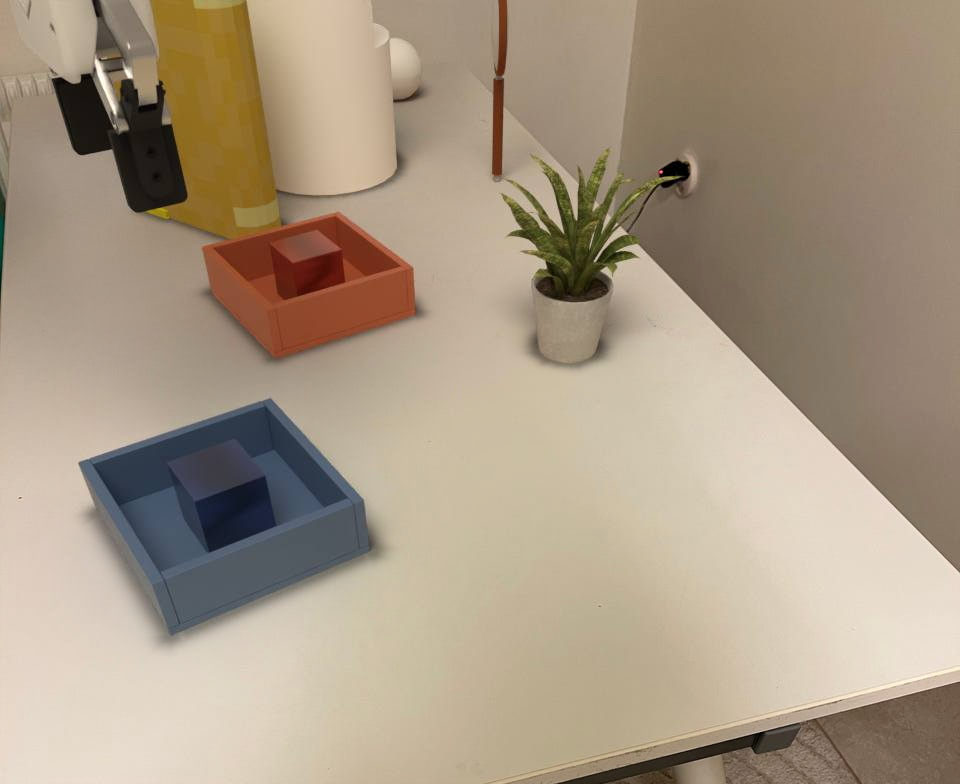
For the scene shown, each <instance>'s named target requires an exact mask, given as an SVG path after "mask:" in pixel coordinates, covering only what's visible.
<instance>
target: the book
mask: <svg viewBox="0 0 960 784" xmlns="http://www.w3.org/2000/svg"><path fill="white" fill-rule="evenodd" d="M150 5H151V9H152V14H153V19H154V24H155V29H156V35H157V41H158V48H159V58H158V61H157V65H158V78H159V80H161V81H162V82H163V84H164V85H162V87H163V90H165V91H166V94H165V95H164V98H165V100H166V103H167V105H168V108H169V111H170V114H171V121H172V122H171V123H172V127H173V132H174V136H175V140H176V145H177V149H178V154H179V158H180V162H181V167H182V171H183V176H184V180H185V185H186V189H187V193H188V197H187V199H186V201H185V202H183V203H179V204H175V205H170V206H166V207H162V208H158V209H153V210H149V211H145V212H144V213H148V214H151V215H153V216H156V217H159V218H162V219H165V220H169V219H172V220H174V221H179V222H181V223H183V224H186V225H188V226H192V227H195V228H197V229H199V230H203V231H205V232H209V233H212V234H215V235H217V236H220V237H223V238H225V239H227V240H230V239H234V238H238V237H242V236H245V235H249V234H253V233H257V232H261V231H265V230H269V229H273V228H277V227H280V226H282V221H281V214H280V208H279V201H278V200H279V199H278V194H277V193H278V192H277V189H276V187H275V180H274V174H273V168H272V161H271V155H270V148H269V142H268V135H267V129H266V122H265V116H264V110H263V103H262V97H261V90H260V84H259V77H258V71H257V64H256V58H255V52H254V45H253V39H252V32H251V26H250V19H249V13H248V6H247V0H150ZM115 57H121V55H117V56H111V57H106V59H109V58H115ZM113 87H114V89H115V92H116V94H117V96H118V99H119V101H120V88H121V81H118V82H113Z"/></svg>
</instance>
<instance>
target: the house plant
mask: <svg viewBox="0 0 960 784" xmlns="http://www.w3.org/2000/svg"><path fill="white" fill-rule="evenodd" d="M528 154H529V156H530V157H531V158H532V159H533V160H534V161H535V162H536V163H537V164H538V165H539V166H540V167H541V169H542V170H541V173H543V175H544V176H546V177H547V179H548V181H549V182H550V184H551V188H552V190H553V193H554V197H555V201H556V206H557V210H558V214H559V216H560V221H561V226H562V230H561V228H560V227H559V226H558V225H557V224H556V223H555V221H554V220H553V219H551V218H550V217H549V215H548V213H547V212H546V211H545V209H544V207H543V206H542V204H541V203H540V202H539V201H538V200H537V199H536V197H535V196H534V195H533V194H532V193H531V192H530V191H529V190H527V188H525V187H523V186H522V185H521V184H519V183H518V182H516V181H514V180H513V179H509V178H505V177H502V179H503V180H504V181H506V182H508V183H510V184H512V185H513V186H514V187H515V188H516V189H517V190H519V191H520V192H521V193H522V194H523V195H524V196H525V197H526V199H527V200H528V201H529V202H530V203H531V205H532V206H533V208H534V209H535V210H536V212H534V211H529V212H528V211H526V210H525V209H524V208H523V207H522V206H521V205H520V204H519V203H518V202H517V201H516V200H515V199H514V198H512V197H510V196H508V195H506V194H505V193H503V192H502V193H501V192H499V194H500V195H501V197H502V200H503V201H504V203H506V205H507V206H508V207H509V208H510V210H511V211H510V212H511V214H512V217H513V218H514V220H515V222H516V223H517V225H518V226H519V227H520V228H521V229H516V230H513V231H510V233H508V234H507V235H506V236H505V238H508V237H516V238H520V239H524V240H525V239H526V240H527V241H530V242H531V244H533V245H534V246H535V248H536V249H537V250H534V249H525V250H523V249H522V250H520V253H523V254H525V255H530V256H535V257H537V258H538V259H541V260H543V261H544V262H545V266H546V268H538V269H537V271H536V272H535V274H534V275H533V277H532V278H531V290H532V291H531V292H532V301H533V310H534V319H535V328H536V336H537V346H538V350H539V353H541V355H542V356H544V357H545V358H547V359H549V360H551V361H554V362H556V363H557V362H558V363H562V364H563V363H565V364H574V363H575V364H576V363H581V362H583V361H585V360H588V359H591V358H592V357H593V356H594V355H595V354H596V352H597V347H598V346H599V345H598V344H599V341H600V338H601V335H602V331H603V327H604V324H605V320H606V317H607V312H608V309H609V306H610V303H611V298H612V296H613V292H614V287H615V285H614V282H613V277H614V273H615V272H616V270H617V269H618V264H617V263H620V262H624V261H628V260H633V259H640V257H639V256H638V255H636V254H635V253H633V252H632V251H628V250H621V249H623V248H626V247H630V246H634V245H639V244H641V245H644V242H642V241H641V240H640V239H639V238H638V237H636V236H634V235H632V234H624V235H623V234H622V235H620V236H618V237H617V238H615V239H613V240H612V241H611V242H610V243H609V244H608V245H607V246H606V247H605V248H604V246H605V244H606V243H607V242H608V241H609V239H610V238H611V236H612V235H613V234H614V233H615V232H616V231H617V230H618V229H619V228H620V227H621V226H622V225H623V224H624V223H625V222H627V220H628V219H630V217H631V216H632V215H633V214H635V213H636V212H637V211H638V210H640V209H641V208H643V207H644V206H646V205H647V204H648V202H646V203H644V204H643V205H641V206H639V207H637V208H636V209H634V210H632V211H631V212H630V213H629V214H628V215H627V216H626V217H625V218H624V219H622V220H621V221H620V219H621V218H622V217H623V215H624V214H625V213H626V212H627V210H629V208H630V207H631V206H632V205H633V204H634V203H635V202H636V201H637V200H638V199H639V198H641V197H642V196H643V195H644V194H646V193H647V192H649V191H650V190H652V189H653V188H655V187H656V186H657V185H660V184H662V183H664V182H669V181H672V180H676V179H679V178H682V177H686V176H684V175H670V176H662V177H658V178H653V179H651V180H649V181H647V182H645V183H643V184H642V185H640V186H639V187H638V188H636V189H635V190H634V191H633V192H632V193H630V194H629V195H628V196H627V197H626V198H625V199H624V201H623V202H622V203H621V204H620V206H619V207H618V209H617V210H616V212H615V213H614V214H613V216H611V218H610V219H609V220H608V222H607V223H606V225H604V224H605V221H606V219H607V215H608V213H609V209H610V207H611V205H612V203H613V200H614V198H615V195H616V193H617V192H618V189H619V186H620V185H622V184H623V183H627V182H634V181H636V179H634V178H626V179H622V178H623V177H624V175H625V172H622V173H620V174H618V175H617V176H616V177H615V178H614V179H613V181H612V182H611V184H610V186H609V188H608V190H607V192H606V195H605V197H604V200H603V201H602V203H601V204H599V205H598V206H597V207H595V203H596V199H597V195H598V192H599V189H600V186H601V183H602V180H603V177H604V175H605V173H606V170H607V165H608V164H607V162H608V158H609V155H610V154H611V147H608V148H606V149H605V150H604V151H603V152H602V153H601V155H600V156H599V158H598V159H597V160H596V162H595V164H594V166H593V169H592V171H591V173H590V176H589V178H588V181H587V183H585V177H584V174H583V171H582V169H581V167H580V166H579V165H578V164H575V165H577V173H578V186H577V187H578V188H577V215H576V216H575V212H574V209H573V204H572V201H571V198H570V195H569V191H568V189H567V186H566V184H565V182H564V181H563V179H562V177H561V174H559V173H558V172H557V171H556V170H555V169H554V168H553V167H551V166H550V165H548V164H547V163H546V162H545V161H543V160H542V159H540V158H539V157H537V156H536V155H535V156H534V155H533V154H531V153H528ZM594 207H595V208H594ZM531 214H536V215H537V216H538V219H539V220H540V222H541V223H542V224H543V225H544V226H545V228H546V229H547V230H545V229H544V228H541V226H540V223H539V222H538V220H537V219H536V218H535V217H534V216H532V215H531ZM619 221H620V222H619ZM618 222H619V223H618ZM617 223H618V224H617ZM616 224H617V225H616ZM604 226H605V227H604ZM644 247H645V248H646V250H648V249H647V247H646V245H644ZM603 248H604V249H603ZM600 252H601V253H600ZM605 268H607V269H608V270H609V271H610V273H611V277H610V276H609V275H608V274H606V273H604V272H603V271H602V270H604V269H605ZM611 278H612V279H611Z"/></svg>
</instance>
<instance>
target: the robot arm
mask: <svg viewBox="0 0 960 784" xmlns="http://www.w3.org/2000/svg"><path fill="white" fill-rule="evenodd" d="M8 5H9V9H10V12H11V15H12V19H13V22H14V25H15V29H16V31H17V33H18V36H19V38H20V40H21V41H22V42H23V44H24V45H25V46H26V47H27V48H28V49H29V50H30V51H31V52H32V53H33V54H34V55H35V56H36V57H37V58H38V59H39V60H41V61H42V62H43V63H44V64H45V65H46V66H47V67H48V69H49V71H50V73H51V75H52V76H53V78H50V80H51V83H52V86H53V87H52V88H53V89H54V93H55V97H56V101H57V103H58V106H59V109H60V112H61V116H62V119H63V123H64V126H65V129H66V132H67V135H68V139H69V142H70V145H71V148H72V150H73V151H74V152H75V153H76V154H77V155H79V156H86V155H91V154H96V153H102V152H106V151H111V150H112V154H113V158H114V162H115V165H116V168H117V171H118V176H119V178H120V182H121V186H122V190H123V193H124V197H125V200H126V204H127V207H129V208H130V210H131V211H132V212H134V213H137V214H141V213H146V212H145V211H149V210H153V209H158V208H162V207H166V206H170V205H175V204H179V203H183V202H185V201H186V199H187V197H188V193H187V189H186V185H185V180H184V176H183V171H182V167H181V162H180V158H179V154H178V149H177V145H176V140H175V136H174V132H173V127H172V123H171V122H172V121H171V114H170V111H169V108H168V105H167V103H166V100H165V98H164V95H165V94H166V91H165V90H163V87H162V85H164V84H163V82H162V81H161V80H159V78H158V65H157V61H158V58H159V48H158V41H157V35H156V29H155V24H154V19H153V14H152V9H151V5H150V0H8ZM117 55H121V57H115V58H109V59H107V57H111V56H117ZM57 76H58V77H57ZM118 81H121V88H120V101H119V99H118V96H117V94H116V90H115V86H114V82H118Z"/></svg>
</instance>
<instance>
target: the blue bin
mask: <svg viewBox="0 0 960 784" xmlns="http://www.w3.org/2000/svg"><path fill="white" fill-rule="evenodd" d="M232 439H236V440H237V441H238V443H239V444H240V445H241V446H242V447H243V449H244V450H245V451H246V452H247V454H248V455H249V456H250V457H251V458H252V460H253V461H254V462H255V463H256V464H257V466H258V467H259V468H260V469H261V471H262V472H263V473H264V474H265V476H266V480H267V485H268V490H269V494H270V499H271V504H272V509H273V513H274V518H275V523H276V527H273V528H271V529H268V530H266V531H263V532H261V533H258V534H256V535H253V536H251V537H248V538H245V539H243V540H240V541H238V542H235V543H233V544H230V545H228V546H225V547H223V548H220V549H218V550H215V551H212V552H210V553H207V552H206V550H205V549H204V547H203V546H202V544H201V543H200V541H199V540H198V539H197V537H196V536H195V534H194V533H193V531H192V530H191V528H190V527H189V525H188V524H187V523H186V521H185V520H184V517H183V514H182V511H181V508H180V504H179V501H178V498H177V495H176V491H175V488H174V485H173V482H172V479H171V475H170V472H169V469H168V466H167V462H169V461H172V460H175V459H178V458H181V457H184V456H186V455H189V454H192V453H195V452H198V451H201V450H204V449H207V448H209V447H212V446H215V445H218V444H221V443H224V442H227V441H230V440H232ZM77 465H78V467H79V469H80V472H81V474H82V477H83V479H84V482H85V484H86V487H87V489H88V492H89V495H90V497H91V500H92V502H93V504H94V505H93V506H94V507H95V510H96V512H97V514H98V516H99V518H100V520H101V521H102V523H103V524H104V526H105V528H106V530H107V532H108V533H109V535H110V536H111V538H112V540H113V542H114V543H115V544H116V547H117V548H118V550H119V552H120V553H121V555H122V557H123V559H124V560H125V562H126V563H127V565H128V567H129V568H130V570H131V572H132V574H133V575H134V577H135V579H136V580H137V582H138V584H139V585H140V587H141V589H142V590H143V593H144V594H145V596H146V597H147V599H148V601H149V603H150V604H151V606H152V607H153V609H154V610H155V612H156V614H157V616H158V617H159V619H160V621H161V622H162V624H163V626H164V627H165V629H166V631H167V633H168V634H169V635H170V636H174V635H177V634H179V633H181V632H183V631H187V630H188V629H190V628H193V627H195V626H198V625H200V624H202V623H205V622H208V621H209V620H212V619H214V618H216V617H219V616H221V615H223V614H226V613H228V612H231V611H233V610H236V609H238V608H241V607H243V606H245V605H247V604H250V603H252V602H254V601H257V600H259V599H261V598H264V597H266V596H269V595H271V594H274V593H276V592H278V591H281V590H282V589H285V588H287V587H290V586H292V585H294V584H297V583H299V582H302V581H303V580H306V579H308V578H311V577H313V576H315V575H318V574H321V573H323V572H325V571H327V570H329V569H332V568H334V567H337V566H340V565H342V564H344V563H346V562H349V561H351V560H353V559H356V558H359V557H360V556H361V557H362V556H363V555H365V554H368V553H369V552H370V551H371V549H370V548H371V547H370V540H369V531H368V524H367V523H368V522H367V514H366V505H365V499H364V498H363V497H362V496H361V495H360V494H359V492H358V491H356V489H355V488H354V487H353V486H352V485H351V484H350V483H349V482H348V481H347V480H346V478H345V477H344V476H343V475H342V474H341V473H340V472H339V471H338V470H337V469H336V468H335V467H334V465H333V464H332V463H331V462H330V461H329V460H328V459H327V458H326V456H324V454H323V453H322V452H321V451H320V450H319V449H318V448H317V446H315V444H313V442H312V441H311V440H310V439H309V438H308V436H306V435H305V434H304V432H303V431H302V430H301V429H300V428H299V427H298V426H297V425H296V424H295V423H294V421H292V419H291V418H290V417H289V416H288V415H287V414H286V413H285V412H284V410H282V409H281V407H280V406H279V405H278V404H277V403H276V402H275V401H274V399H273V398H272V397H269V398H266V399H262V400H259V401H256V402H253V403H250V404H248V405H244V406H241V407H238V408H235V409H233V410H229V411H227V412H223V413H221V414H218V415H214V416H212V417H209V418H206V419H202V420H200V421H197V422H194V423H190V424H188V425H185V426H184V425H183V426H181V427H178V428H175V429H173V430H170V431H166V432H163V433H160V434H158V435H155V436H151V437H149V438H146V439H143V440H140V441H136V442H134V443H131V444H128V445H125V446H122V447H118V448H115V449H113V450H110V451H106V452H104V453H101V454H98V455H95V456H92V457H89V458H87V459H83V460H80V461H78V463H77Z"/></svg>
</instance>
